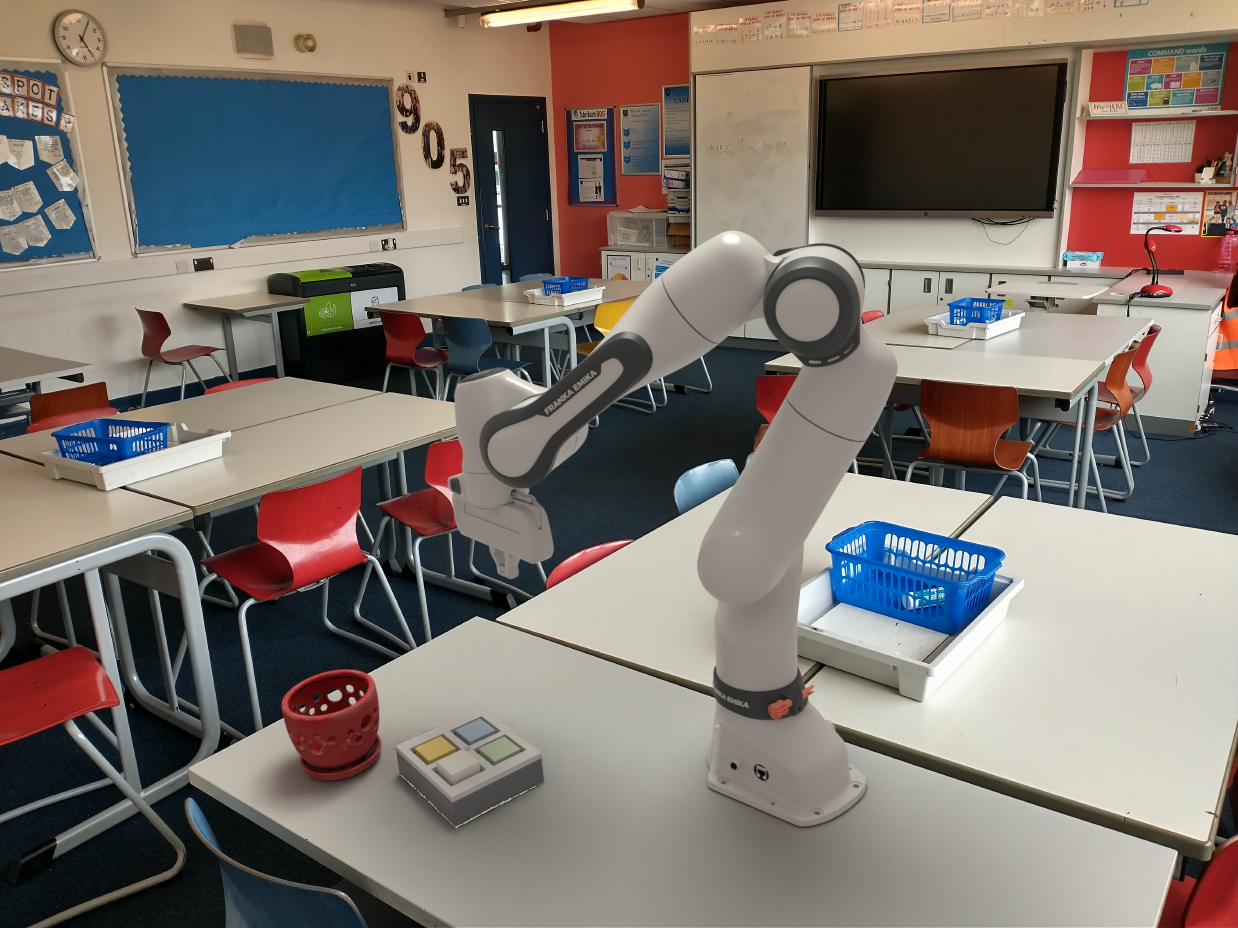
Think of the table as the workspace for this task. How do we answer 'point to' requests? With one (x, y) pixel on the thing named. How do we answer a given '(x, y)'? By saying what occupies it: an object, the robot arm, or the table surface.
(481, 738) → the key blue
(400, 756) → the keypad
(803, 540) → the robot arm
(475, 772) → the key grey
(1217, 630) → the table surface
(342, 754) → the plant pot
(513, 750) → the key sage
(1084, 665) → the table surface
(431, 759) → the key mustard
